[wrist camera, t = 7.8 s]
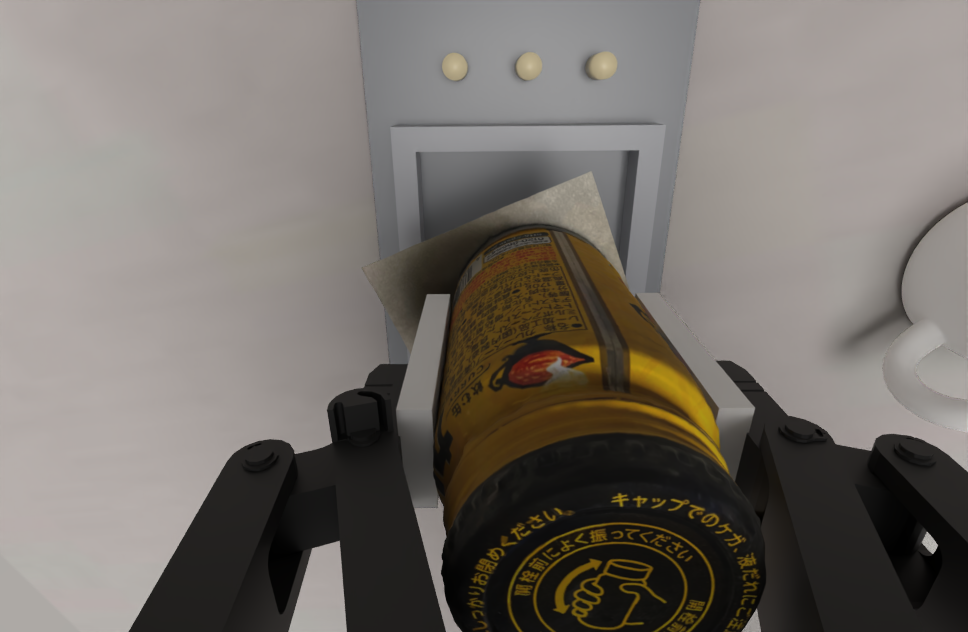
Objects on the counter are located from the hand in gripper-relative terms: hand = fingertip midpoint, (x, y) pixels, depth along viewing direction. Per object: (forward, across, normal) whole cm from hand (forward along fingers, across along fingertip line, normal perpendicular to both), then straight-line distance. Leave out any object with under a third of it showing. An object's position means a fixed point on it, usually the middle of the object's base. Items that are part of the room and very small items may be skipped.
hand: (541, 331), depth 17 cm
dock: (+10, 0, -2) cm, 10 cm away
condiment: (+2, +1, 0) cm, 2 cm away
